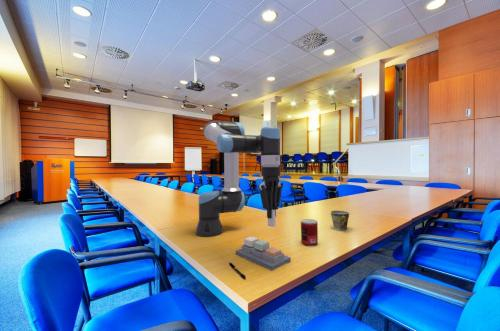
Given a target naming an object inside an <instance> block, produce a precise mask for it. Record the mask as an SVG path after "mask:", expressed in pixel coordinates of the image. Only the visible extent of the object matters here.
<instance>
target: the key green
mask: <svg viewBox="0 0 500 331" xmlns="http://www.w3.org/2000/svg"><path fill="white" fill-rule="evenodd" d="M254 248H255V249H257V250H260V251H264V250H266V249H269V248H270V242H269V241H266V240H264V239H261V240H260V239H259V241H256V242H254Z"/></svg>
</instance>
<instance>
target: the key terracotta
mask: <svg viewBox="0 0 500 331" xmlns="http://www.w3.org/2000/svg"><path fill="white" fill-rule="evenodd" d="M281 252H282V250H281V249H280V248H276V247H269V249H266V250H265V254H267V255H269V256H272V257H275V256H278V255H280V254H281Z"/></svg>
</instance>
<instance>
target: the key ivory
mask: <svg viewBox="0 0 500 331" xmlns="http://www.w3.org/2000/svg"><path fill="white" fill-rule="evenodd" d="M259 240H260V239H259V238H257V237H254V236H251V235H250V236H249V237H246V238H244V240H243V244H244V245H247V246H249V247H253V246H254V242H256V241H259Z"/></svg>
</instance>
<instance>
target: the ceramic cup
mask: <svg viewBox="0 0 500 331" xmlns="http://www.w3.org/2000/svg"><path fill="white" fill-rule="evenodd" d="M349 217H350V212H348V211H346V210H331V211H330V218H331V220H332V226H333V229H334V231H335V230H336V231H339V232H340V231H341V232H345V231H347V228H348V223H349Z"/></svg>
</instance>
